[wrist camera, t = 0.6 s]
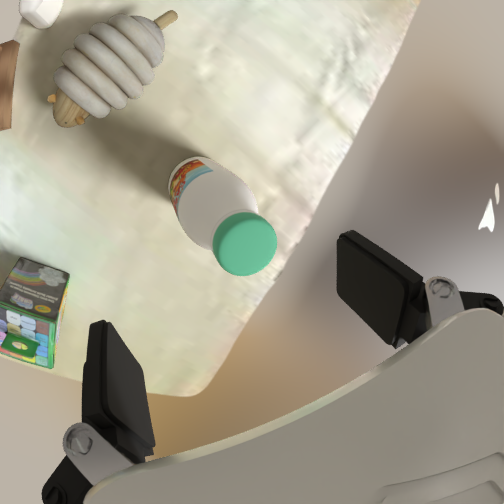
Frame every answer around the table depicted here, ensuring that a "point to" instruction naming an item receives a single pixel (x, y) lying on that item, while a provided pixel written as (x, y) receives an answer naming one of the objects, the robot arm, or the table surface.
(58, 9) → the eye dropper bottle
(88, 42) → the toy sheep
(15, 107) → the table surface
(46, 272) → the chalk box
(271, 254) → the milk bottle
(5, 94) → the walnut socket block
